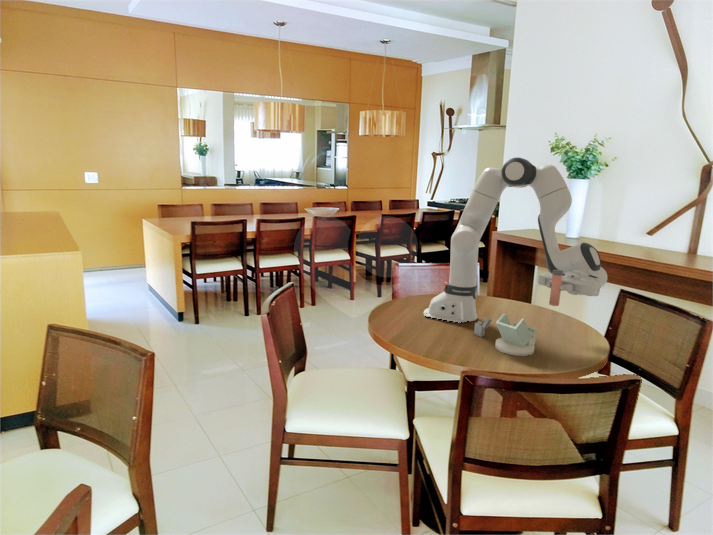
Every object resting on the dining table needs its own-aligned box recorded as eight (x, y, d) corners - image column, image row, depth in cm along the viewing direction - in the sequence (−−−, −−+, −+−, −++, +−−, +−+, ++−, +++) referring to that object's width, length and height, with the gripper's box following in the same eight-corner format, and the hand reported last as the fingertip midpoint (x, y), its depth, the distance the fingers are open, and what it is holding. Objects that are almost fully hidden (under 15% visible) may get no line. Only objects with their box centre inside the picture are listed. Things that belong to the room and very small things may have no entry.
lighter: (473, 333, 184) (475, 313, 182) (477, 333, 184) (478, 313, 183) (486, 339, 177) (488, 318, 176) (490, 339, 178) (491, 318, 177)
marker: (549, 305, 165) (553, 271, 163) (548, 302, 168) (552, 269, 166) (559, 306, 164) (563, 272, 162) (558, 303, 167) (562, 270, 165)
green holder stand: (518, 358, 160) (522, 322, 157) (487, 346, 170) (490, 312, 167) (541, 351, 167) (545, 316, 165) (510, 340, 178) (513, 307, 175)
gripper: (551, 268, 180) (529, 271, 172) (605, 279, 164) (584, 283, 156) (549, 284, 181) (527, 288, 173) (603, 297, 165) (581, 302, 157)
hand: (554, 286), depth 165 cm, fingers closed on marker, 3 cm apart
